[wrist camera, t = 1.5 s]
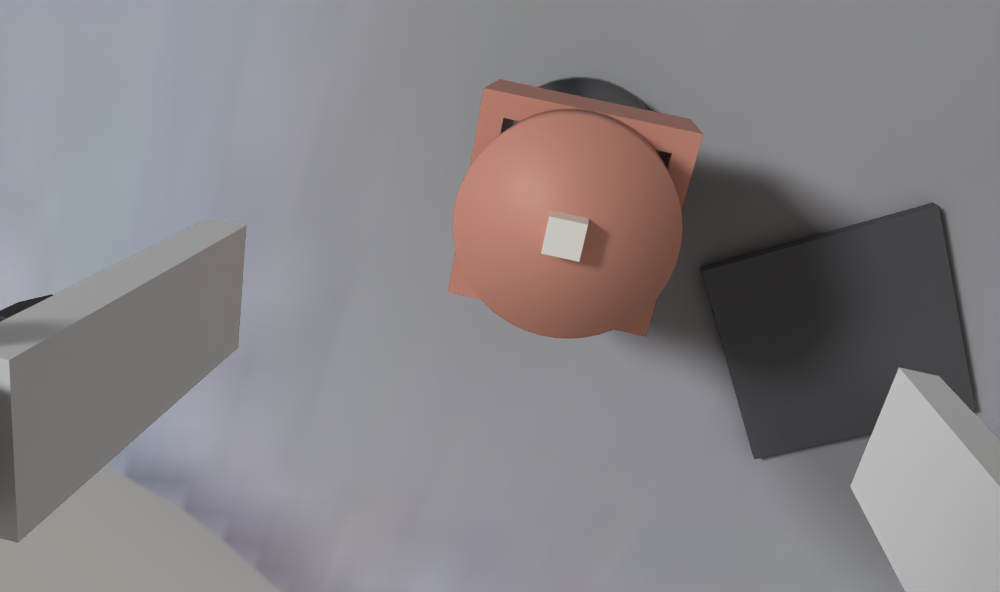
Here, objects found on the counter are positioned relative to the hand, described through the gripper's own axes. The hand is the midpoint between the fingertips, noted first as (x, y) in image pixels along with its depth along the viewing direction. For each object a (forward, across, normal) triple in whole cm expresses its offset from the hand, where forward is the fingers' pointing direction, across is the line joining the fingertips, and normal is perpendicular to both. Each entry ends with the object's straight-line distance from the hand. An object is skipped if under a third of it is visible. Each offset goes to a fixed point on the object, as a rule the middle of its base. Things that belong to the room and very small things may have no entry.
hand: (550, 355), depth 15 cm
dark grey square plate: (+20, +13, -5) cm, 25 cm away
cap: (+15, 0, 0) cm, 15 cm away
